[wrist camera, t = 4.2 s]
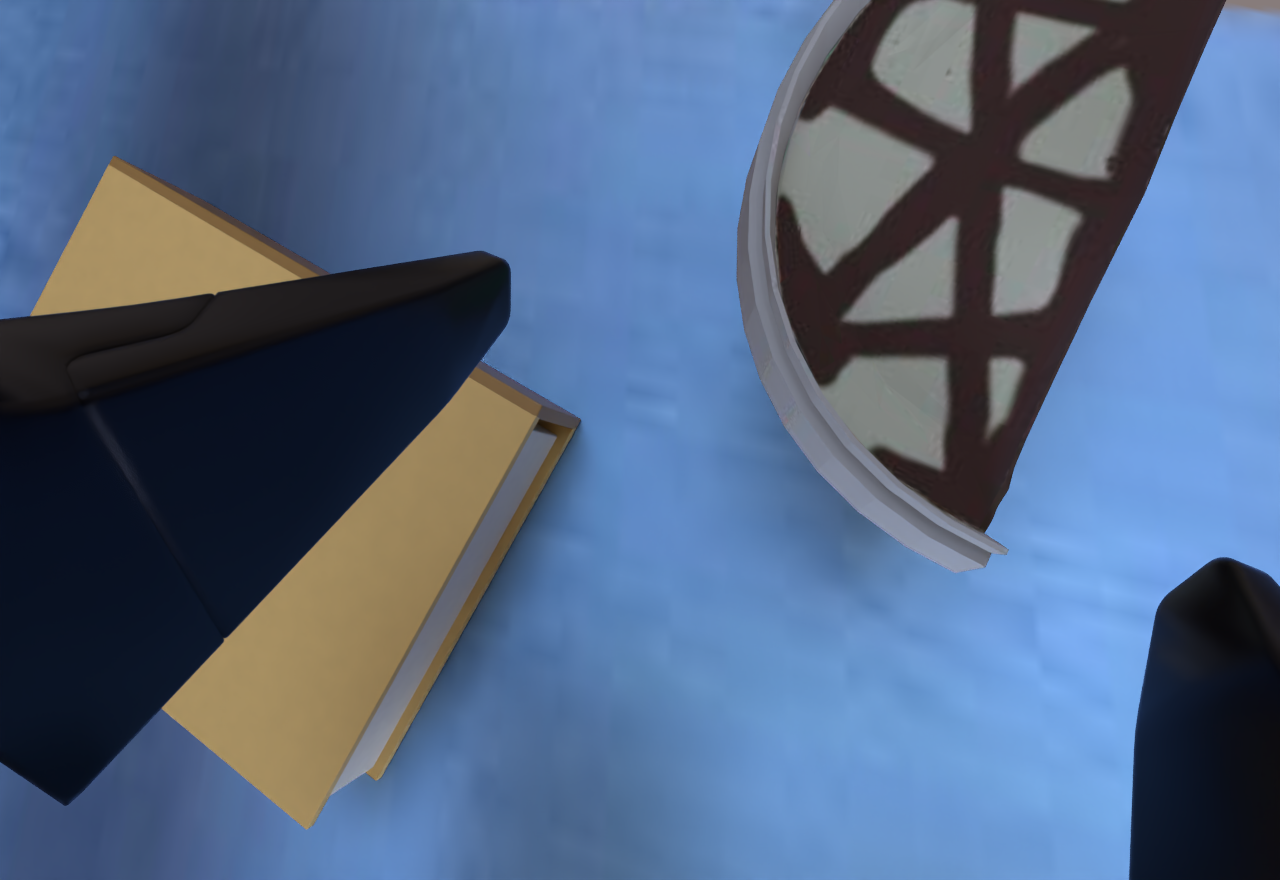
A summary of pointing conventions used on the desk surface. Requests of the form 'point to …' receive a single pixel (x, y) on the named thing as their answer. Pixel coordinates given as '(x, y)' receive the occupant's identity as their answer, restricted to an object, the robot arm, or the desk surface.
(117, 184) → the book
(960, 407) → the food container
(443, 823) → the desk surface
